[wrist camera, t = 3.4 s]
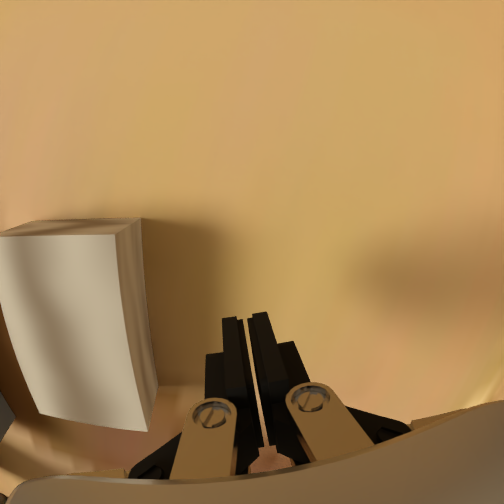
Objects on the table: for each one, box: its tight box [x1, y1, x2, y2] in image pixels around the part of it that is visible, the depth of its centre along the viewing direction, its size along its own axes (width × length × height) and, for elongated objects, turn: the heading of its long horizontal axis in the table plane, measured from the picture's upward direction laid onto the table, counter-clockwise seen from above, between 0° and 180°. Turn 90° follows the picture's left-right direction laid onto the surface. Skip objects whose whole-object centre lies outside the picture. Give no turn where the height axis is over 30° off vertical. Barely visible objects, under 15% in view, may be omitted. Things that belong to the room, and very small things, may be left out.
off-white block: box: [0, 218, 158, 432], centre depth 16 cm, size 8×12×5 cm, turn 178°
